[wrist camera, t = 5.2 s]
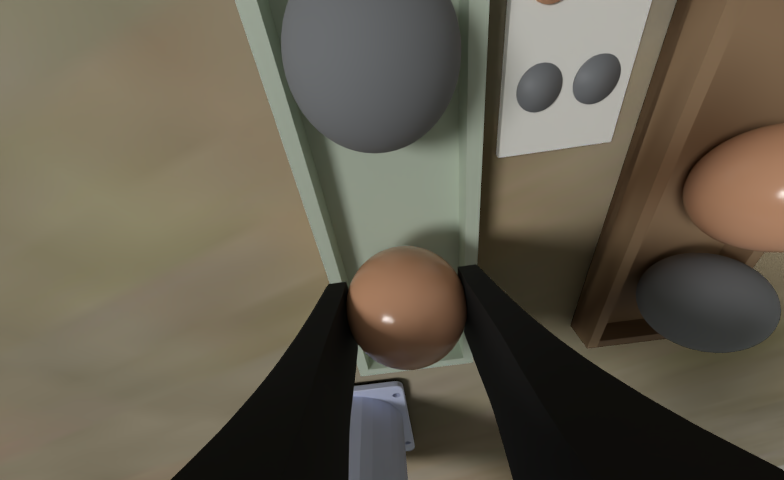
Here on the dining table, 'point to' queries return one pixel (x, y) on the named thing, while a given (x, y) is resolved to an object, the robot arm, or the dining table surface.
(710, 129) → the walnut trough
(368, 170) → the sage trough
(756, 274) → the grey ball
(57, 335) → the dining table surface
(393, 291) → the terracotta ball
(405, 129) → the grey ball
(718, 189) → the terracotta ball
